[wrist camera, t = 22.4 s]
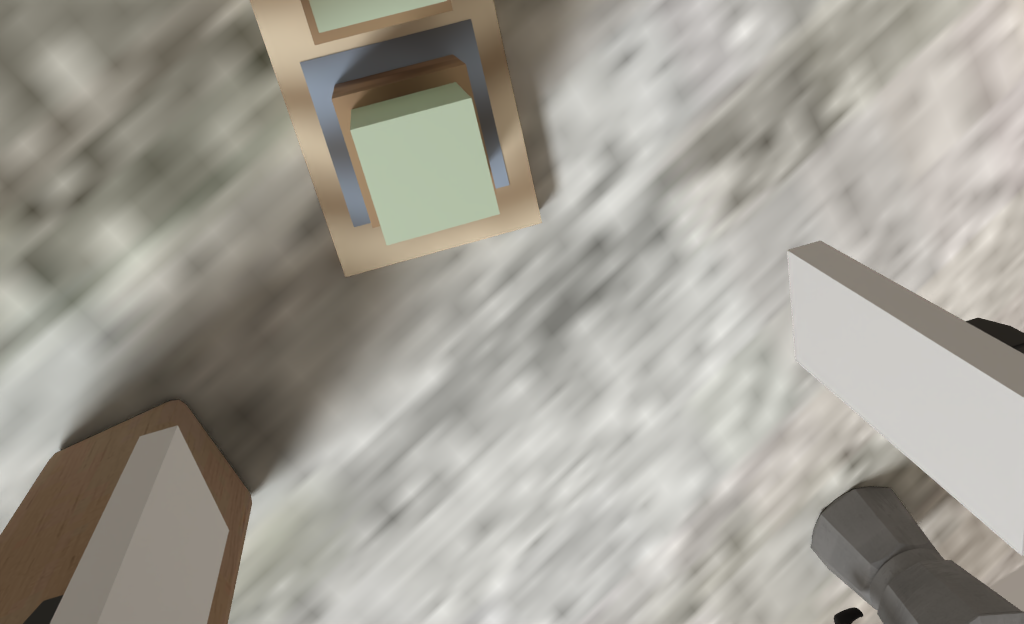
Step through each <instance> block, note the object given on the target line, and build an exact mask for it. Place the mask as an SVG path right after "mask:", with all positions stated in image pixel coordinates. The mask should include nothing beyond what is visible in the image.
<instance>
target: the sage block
mask: <svg viewBox="0 0 1024 624" xmlns="http://www.w3.org/2000/svg"><path fill="white" fill-rule="evenodd" d="M350 131H351V135H352V138H353V141H354V144H355V147H356V150H357V153H358V157H359V160H360V163H361V166H362V169H363V172H364V175H365V179H366V182H367V185H368V188H369V191H370V194H371V198H372V201H373V204H374V207H375V210H376V213H377V216H378V220H379V223H380V226H381V229H382V232H383V235H384V239H385V242H386V245H391V244H395V243H398V242H402V241H405V240H409V239H412V238H416V237H420V236H423V235H427V234H430V233H434V232H438V231H441V230H445V229H448V228H452V227H455V226H459V225H463V224H466V223H470V222H473V221H477V220H480V219H484V218H488V217H491V216H495V215H498V214H500V212H499V208H498V204H497V200H496V196H495V192H494V188H493V184H492V180H491V176H490V172H489V167H488V163H487V159H486V155H485V151H484V147H483V143H482V139H481V135H480V131H479V127H478V123H477V119H476V114H475V110H474V106H473V102H472V98H471V97H470V96H469V95H468V94H467V93H466V92H465V91H464V90H463V89H462V88H461V87H460V86H459V85H458V84H457V83H456V82H454V83H450V84H446V85H442V86H439V87H435V88H431V89H427V90H424V91H420V92H416V93H412V94H408V95H405V96H401V97H397V98H393V99H390V100H386V101H382V102H378V103H374V104H371V105H367V106H363V107H359V108H356V109H352V110H351V123H350Z"/></svg>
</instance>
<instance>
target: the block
mask: <svg viewBox="0 0 1024 624" xmlns="http://www.w3.org/2000/svg"><path fill="white" fill-rule="evenodd" d="M177 425H178V427H179V429H180V431H181V433H182V435H183V437H184V439H185V441H186V443H187V445H188V447H189V449H190V451H191V453H192V456H193V458H194V460H195V462H196V464H197V466H198V468H199V470H200V472H201V474H202V476H203V478H204V480H205V482H206V484H207V486H208V488H209V490H210V492H211V494H212V496H213V498H214V500H215V502H216V504H217V506H218V509H219V511H220V513H221V515H222V517H223V519H224V521H225V523H226V525H227V527H228V529H229V532H228V536H227V541H226V545H225V549H224V553H223V558H222V562H221V566H220V570H219V575H218V579H217V583H216V587H215V592H214V596H213V600H212V604H211V609H210V613H209V617H208V621H207V624H228V619H229V614H230V609H231V604H232V599H233V594H234V589H235V584H236V579H237V575H238V570H239V565H240V560H241V555H242V550H243V545H244V540H245V535H246V530H247V526H248V521H249V516H250V511H251V506H252V500H251V494H250V493H249V491H248V489H247V488H246V487H245V485H244V484H243V483H242V481H241V480H240V478H239V477H238V476H237V474H236V473H235V471H234V470H233V469H232V467H231V466H230V465H229V463H228V462H227V460H226V459H225V458H224V456H223V455H222V453H221V452H220V451H219V449H218V448H217V446H216V445H215V444H214V442H213V441H212V440H211V438H210V437H209V435H208V434H207V433H206V431H205V430H204V428H203V427H202V426H201V424H200V423H199V421H198V420H197V419H196V417H195V416H194V415H193V413H192V412H191V410H190V409H189V408H188V406H187V405H186V404H185V403H183V402H182V401H181V400H172V401H169V402H166V403H164V404H162V405H159V406H157V407H155V408H153V409H151V410H149V411H146V412H144V413H142V414H140V415H138V416H135V417H133V418H131V419H129V420H127V421H124V422H122V423H120V424H118V425H116V426H114V427H111V428H109V429H107V430H105V431H103V432H100V433H98V434H96V435H94V436H92V437H90V438H87V439H85V440H83V441H81V442H79V443H76V444H74V445H72V446H70V447H68V448H66V449H63V450H61V451H59V452H57V453H55V454H54V455H53V456H52V458H51V459H50V460H49V461H48V462H47V464H46V466H45V467H44V469H43V470H42V472H41V473H40V475H39V476H38V478H37V479H36V481H35V483H34V484H33V486H32V487H31V489H30V490H29V492H28V493H27V495H26V496H25V498H24V500H23V501H22V503H21V504H20V506H19V507H18V509H17V510H16V512H15V513H14V515H13V516H12V518H11V520H10V521H9V523H8V524H7V526H6V527H5V529H4V530H3V532H2V533H1V535H0V624H23V623H24V622H25V620H26V619H27V618H28V617H29V616H30V615H31V614H32V613H33V612H34V611H35V609H36V608H37V607H38V606H39V605H40V604H41V603H42V602H43V601H44V600H48V599H51V598H54V597H58V596H61V595H64V593H65V591H66V589H67V587H68V585H69V583H70V580H71V578H72V576H73V574H74V572H75V570H76V568H77V566H78V564H79V562H80V560H81V558H82V556H83V553H84V551H85V549H86V547H87V545H88V543H89V541H90V539H91V537H92V535H93V533H94V531H95V528H96V526H97V524H98V522H99V520H100V518H101V516H102V514H103V512H104V510H105V508H106V506H107V503H108V501H109V499H110V497H111V495H112V493H113V491H114V489H115V487H116V485H117V483H118V481H119V478H120V476H121V474H122V472H123V470H124V468H125V466H126V464H127V462H128V460H129V458H130V456H131V454H132V451H133V449H134V447H135V445H136V443H137V441H138V439H139V437H140V436H143V435H146V434H149V433H153V432H156V431H160V430H163V429H167V428H170V427H174V426H177Z"/></svg>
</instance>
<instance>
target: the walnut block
mask: <svg viewBox="0 0 1024 624" xmlns="http://www.w3.org/2000/svg"><path fill="white" fill-rule="evenodd" d="M454 82H456V83H457V84H458V85H459V86H460V87H461V88H462V89H463V90H464V91H465V92H466V93H467V94H468V95H469V96H470V97H471V98H472V102H473V106H474V110H475V114H476V119H477V123H478V127H479V131H480V135H481V139H482V143H483V147H484V151H485V155H486V159H487V163H488V167H489V172H490V176H491V180H492V184H493V188H494V192H495V195H496V194H497V192H496V188H495V183H494V179H493V175H492V171H491V167H490V163H489V158H488V154H487V150H486V146H485V142H484V138H483V133H482V129H481V125H480V121H479V117H478V113H477V108H476V104H475V100H474V96H473V92H472V88H471V83H470V79H469V75H468V71H467V67H466V64H465V63H464V62H462V61H461V60H460V59H458V58H457V57H456V56H454V55H453V54H452V55H448V56H444V57H440V58H436V59H432V60H428V61H424V62H421V63H417V64H413V65H409V66H405V67H401V68H397V69H393V70H390V71H386V72H382V73H378V74H374V75H370V76H366V77H362V78H359V79H355V80H351V81H347V82H343V83H339V84H335V86H334V90H333V94H332V102H333V105H334V108H335V112H336V115H337V118H338V121H339V124H340V127H341V130H342V134H343V137H344V140H345V143H346V146H347V149H348V152H349V156H350V159H351V162H352V165H353V168H354V171H355V174H356V178H357V181H358V184H359V187H360V190H361V193H362V196H363V200H364V203H365V206H366V209H367V212H368V215H369V218H370V222H371V225H372V228H375V227H379V226H380V223H379V220H378V216H377V213H376V210H375V207H374V204H373V201H372V198H371V194H370V191H369V188H368V185H367V182H366V179H365V175H364V172H363V169H362V166H361V163H360V160H359V157H358V153H357V150H356V147H355V144H354V141H353V138H352V135H351V131H350V123H351V110H352V109H356V108H359V107H363V106H367V105H371V104H374V103H378V102H382V101H386V100H390V99H393V98H397V97H401V96H405V95H408V94H412V93H416V92H420V91H424V90H427V89H431V88H435V87H439V86H442V85H446V84H450V83H454Z"/></svg>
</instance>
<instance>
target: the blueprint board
mask: <svg viewBox="0 0 1024 624" xmlns="http://www.w3.org/2000/svg"><path fill="white" fill-rule="evenodd" d="M250 2H251V5H252V8H253V11H254V13H255V16H256V19H257V22H258V25H259V28H260V31H261V34H262V37H263V40H264V43H265V45H266V48H267V51H268V54H269V57H270V60H271V63H272V66H273V69H274V72H275V74H276V77H277V80H278V83H279V86H280V89H281V92H282V95H283V98H284V101H285V104H286V106H287V109H288V112H289V115H290V118H291V121H292V124H293V127H294V130H295V133H296V135H297V138H298V141H299V144H300V147H301V150H302V153H303V156H304V159H305V162H306V164H307V167H308V170H309V173H310V176H311V179H312V182H313V185H314V188H315V191H316V194H317V196H318V199H319V202H320V205H321V208H322V211H323V214H324V217H325V220H326V223H327V225H328V228H329V231H330V234H331V237H332V240H333V243H334V246H335V249H336V252H337V255H338V257H339V260H340V263H341V266H342V269H343V272H344V275H345V277H349V276H352V275H356V274H360V273H363V272H367V271H370V270H374V269H378V268H381V267H385V266H388V265H392V264H396V263H399V262H403V261H406V260H410V259H414V258H417V257H421V256H425V255H428V254H432V253H435V252H439V251H443V250H446V249H450V248H453V247H457V246H461V245H464V244H468V243H471V242H475V241H479V240H482V239H486V238H489V237H493V236H497V235H500V234H504V233H507V232H511V231H515V230H518V229H522V228H525V227H529V226H533V225H536V224H540V223H542V221H541V216H540V212H539V207H538V203H537V198H536V193H535V189H534V184H533V180H532V175H531V170H530V166H529V161H528V157H527V152H526V147H525V143H524V138H523V134H522V129H521V124H520V120H519V115H518V111H517V106H516V102H515V97H514V92H513V88H512V83H511V79H510V74H509V69H508V65H507V60H506V56H505V51H504V46H503V42H502V37H501V33H500V28H499V23H498V19H497V14H496V10H495V5H494V1H493V0H451V4H452V8H453V11H449V12H445V13H441V14H437V15H433V16H429V17H425V18H421V19H417V20H413V21H409V22H405V23H401V24H397V25H394V26H390V27H386V28H382V29H378V30H374V31H370V32H366V33H362V34H358V35H354V36H350V37H346V38H342V39H338V40H334V41H330V42H326V43H323V44H319V45H314V42H313V38H312V35H311V32H310V29H309V26H308V23H307V20H306V16H305V13H304V10H303V7H302V4H301V1H300V0H250ZM452 54H453V55H454V56H456V57H457V58H458V59H460V60H461V61H462V62H464V63H465V64H466V67H467V71H468V75H469V79H470V83H471V88H472V92H473V96H474V100H475V104H476V108H477V113H478V117H479V121H480V125H481V129H482V133H483V138H484V142H485V146H486V150H487V154H488V158H489V163H490V167H491V171H492V175H493V179H494V183H495V188H496V192H497V194H496V195H495V196H496V200H497V204H498V208H499V212H500V214H498V215H495V216H491V217H488V218H484V219H480V220H477V221H473V222H470V223H466V224H463V225H459V226H455V227H452V228H448V229H445V230H441V231H438V232H434V233H430V234H427V235H423V236H420V237H416V238H412V239H409V240H405V241H402V242H398V243H395V244H391V245H386V242H385V239H384V235H383V232H382V229H381V226H379V227H375V228H372V225H371V222H370V218H369V215H368V212H367V209H366V206H365V203H364V200H363V196H362V193H361V190H360V187H359V184H358V181H357V178H356V174H355V171H354V168H353V165H352V162H351V159H350V156H349V152H348V149H347V146H346V143H345V140H344V137H343V134H342V130H341V127H340V124H339V121H338V118H337V115H336V112H335V108H334V105H333V102H332V94H333V90H334V86H335V84H339V83H343V82H347V81H351V80H355V79H359V78H362V77H366V76H370V75H374V74H378V73H382V72H386V71H390V70H393V69H397V68H401V67H405V66H409V65H413V64H417V63H421V62H424V61H428V60H432V59H436V58H440V57H444V56H448V55H452Z"/></svg>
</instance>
